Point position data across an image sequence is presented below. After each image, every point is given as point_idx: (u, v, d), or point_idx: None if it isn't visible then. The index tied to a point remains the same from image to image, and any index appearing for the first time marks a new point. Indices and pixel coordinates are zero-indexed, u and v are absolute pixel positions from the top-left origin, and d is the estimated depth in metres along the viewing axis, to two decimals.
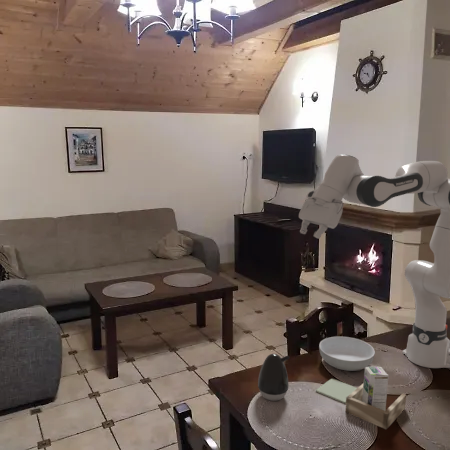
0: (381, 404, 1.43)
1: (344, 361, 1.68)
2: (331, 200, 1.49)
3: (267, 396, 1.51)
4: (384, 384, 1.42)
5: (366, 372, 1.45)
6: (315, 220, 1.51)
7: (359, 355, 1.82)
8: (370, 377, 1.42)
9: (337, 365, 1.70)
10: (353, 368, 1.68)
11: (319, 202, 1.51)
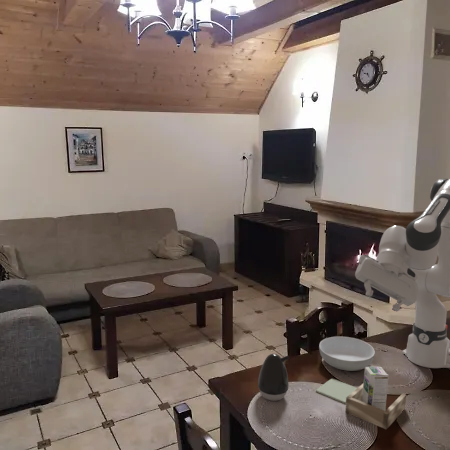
0: (381, 404, 1.43)
1: (344, 361, 1.68)
2: None
3: (267, 396, 1.51)
4: (384, 384, 1.42)
5: (366, 372, 1.45)
6: None
7: (359, 355, 1.82)
8: (370, 377, 1.42)
9: (337, 365, 1.70)
10: (353, 368, 1.68)
11: None
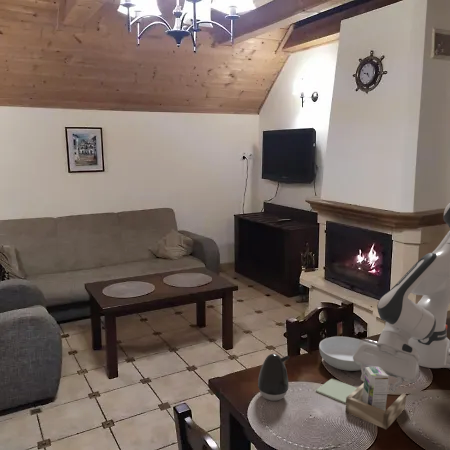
0: (381, 404, 1.43)
1: (344, 361, 1.68)
2: None
3: (267, 396, 1.51)
4: (385, 385, 1.41)
5: (366, 372, 1.44)
6: None
7: None
8: (370, 377, 1.41)
9: (337, 365, 1.70)
10: (353, 368, 1.68)
11: None
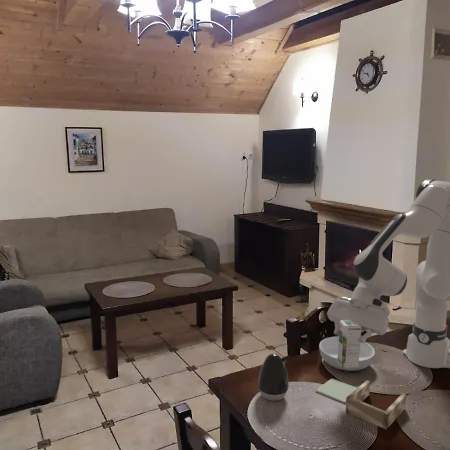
0: (355, 354, 1.50)
1: None
2: None
3: (267, 396, 1.51)
4: (358, 335, 1.49)
5: (341, 325, 1.52)
6: None
7: (359, 355, 1.82)
8: (343, 328, 1.49)
9: (337, 365, 1.70)
10: (353, 368, 1.68)
11: None
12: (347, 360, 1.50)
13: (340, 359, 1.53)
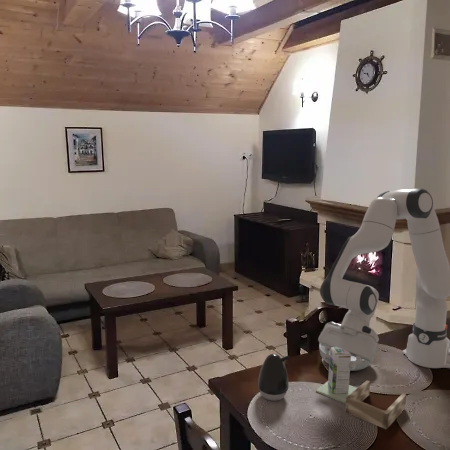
0: (345, 381, 1.55)
1: None
2: None
3: (267, 396, 1.51)
4: (347, 363, 1.54)
5: (331, 352, 1.57)
6: None
7: None
8: (334, 356, 1.54)
9: None
10: None
11: None
12: (338, 386, 1.55)
13: (330, 385, 1.58)
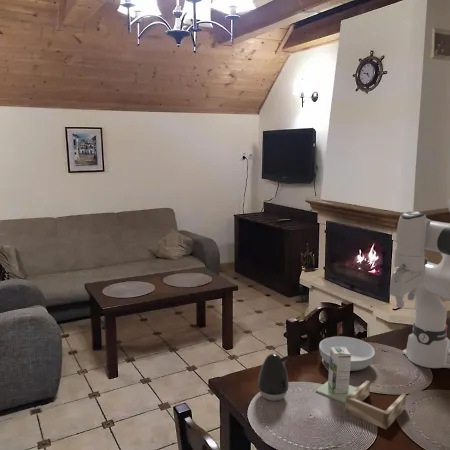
0: (345, 381, 1.55)
1: None
2: None
3: (267, 396, 1.51)
4: (347, 363, 1.54)
5: (331, 352, 1.57)
6: None
7: (359, 355, 1.82)
8: (334, 356, 1.54)
9: None
10: (353, 368, 1.68)
11: None
12: (338, 386, 1.55)
13: (330, 385, 1.58)
